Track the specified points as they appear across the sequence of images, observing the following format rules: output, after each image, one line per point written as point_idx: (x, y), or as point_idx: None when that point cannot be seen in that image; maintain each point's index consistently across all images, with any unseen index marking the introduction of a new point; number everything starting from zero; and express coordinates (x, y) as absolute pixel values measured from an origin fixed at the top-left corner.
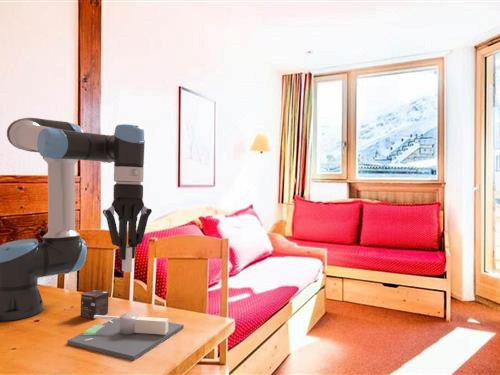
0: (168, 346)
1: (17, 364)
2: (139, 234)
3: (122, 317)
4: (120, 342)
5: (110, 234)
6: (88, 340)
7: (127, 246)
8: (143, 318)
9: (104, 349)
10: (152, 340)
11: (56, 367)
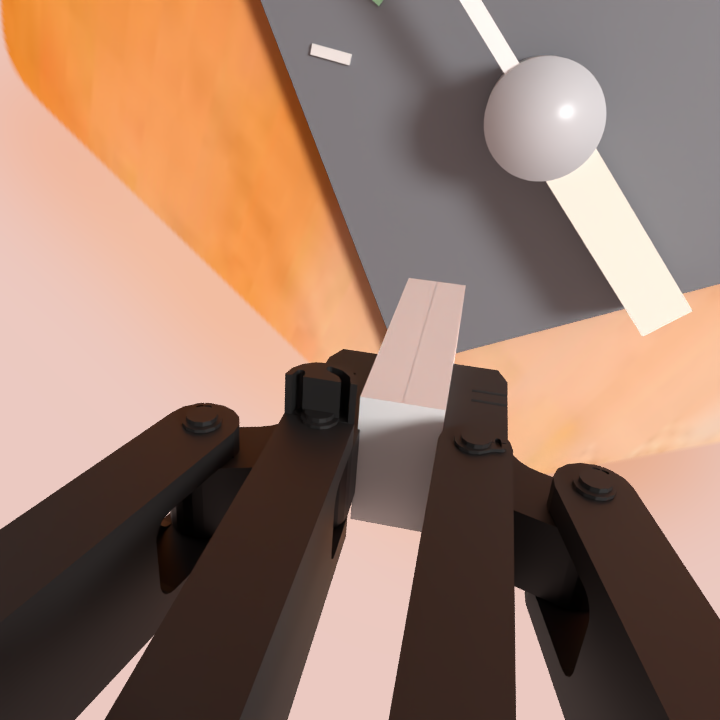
0: (584, 362)
1: (43, 44)
2: (564, 695)
3: (507, 98)
4: (432, 205)
5: (57, 509)
6: (328, 59)
7: (423, 434)
8: (593, 202)
9: (344, 216)
10: (552, 299)
11: (162, 192)
